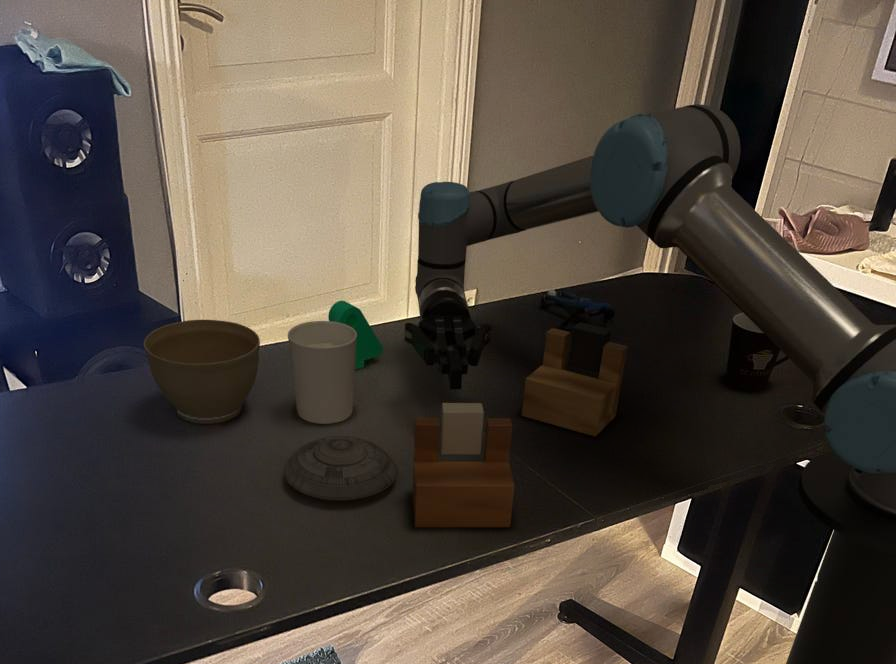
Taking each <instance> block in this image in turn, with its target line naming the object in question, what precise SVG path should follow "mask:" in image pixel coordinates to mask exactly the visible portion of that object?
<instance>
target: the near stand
mask: <svg viewBox="0 0 896 664" xmlns="http://www.w3.org/2000/svg"><path fill="white" fill-rule="evenodd" d="M413 431H414V432H413V460H412V461H413V462H412V463H413V464H412V470H413V471H412V493H411V494H412V506H413V520H414V527H415V528H511V523H512V516H513V505H514V496H515V488H516V487H515V482H514V478H513V472H512V469H511V464H510V457H511V456H510V455H511V447H512V445H511V444H512V435H513V422H512V418H511V417H509V418H508V417H487V418H486V423H485V434H484V435H485V436H484V446H483V448H484V449H483V461H439V452H440V451H439V450H440V433H441V422H440V418H439V417H414V430H413Z"/></svg>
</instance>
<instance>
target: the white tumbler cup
mask: <svg viewBox="0 0 896 664" xmlns="http://www.w3.org/2000/svg"><path fill="white" fill-rule="evenodd" d="M287 339H288V346H289V356H290V363H291V373H292V382H293V391H294V399H295V408H296V412H297V415H298V417H300V418H301V419H302V420H304V421H306V422H309V423H312V424H318V425H330V424H336V423H341V422H343V421H346V420H348V419H349V418H350V417H351V416H352V414H353V410H354V400H355V399H354V397H355V396H354V395H355V379H356V377H355V376H356V369H355V359H356V340H357V333H356V331H355V330H354V329H353V328H352V327H350V326H348V325H346V324H343V323H339V322H333V321H329V320H313V321H305V322H302V323H298V324H296V325H294V326H293V327H292V328H290V329H289V330H288V332H287Z"/></svg>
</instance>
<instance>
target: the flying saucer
mask: <svg viewBox="0 0 896 664" xmlns="http://www.w3.org/2000/svg"><path fill="white" fill-rule="evenodd" d="M397 475H398V467H397V465H396V463H395V460H394V459H393V458H392V457H391V455H389V453H388V452H387V451H386V450H385V449H384V448H382V447H381V446H379V445H377V444H375V443H374V442H371V441H369V440H366V439H362V438H359V437H354V436H346V435H335V436H327V437H322V438H319V439H315V440H313V441H310V442H308V443H306V444H304V445H303V446H301V447H300V448H298V449H297V450H296V451H294V453H293V454H292V455H291V456H290V457H289V458H288V460H287V462H286V463H285V465H284V469H283V476H284V478H285V480H286V482H287V483H288V484H289V485H290V486H291V487H292V488H293V489H295V490H296V491H298V492H300V493H301V494H304V495H306V496H308V497H312V498H316V499H320V500H326V501H338V502H339V501H341V502H343V501H345V502H346V501H354V500H355V501H356V500H360V499H365V498H369V497H372V496H374V495H377V494H380V493H381V492H383V491H385V490H386V489H388V488H389V487H390V486H391V485H393V483H394V481H396V479H397V477H398V476H397Z"/></svg>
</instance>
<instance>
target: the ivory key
mask: <svg viewBox="0 0 896 664" xmlns="http://www.w3.org/2000/svg"><path fill="white" fill-rule="evenodd" d="M484 415H485V412H484V407H483V403H481V402H442V403H441V417H440V418H441V419H440V436H439V448H440V454H441V455H481V453H482V441H483V428H484Z"/></svg>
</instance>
